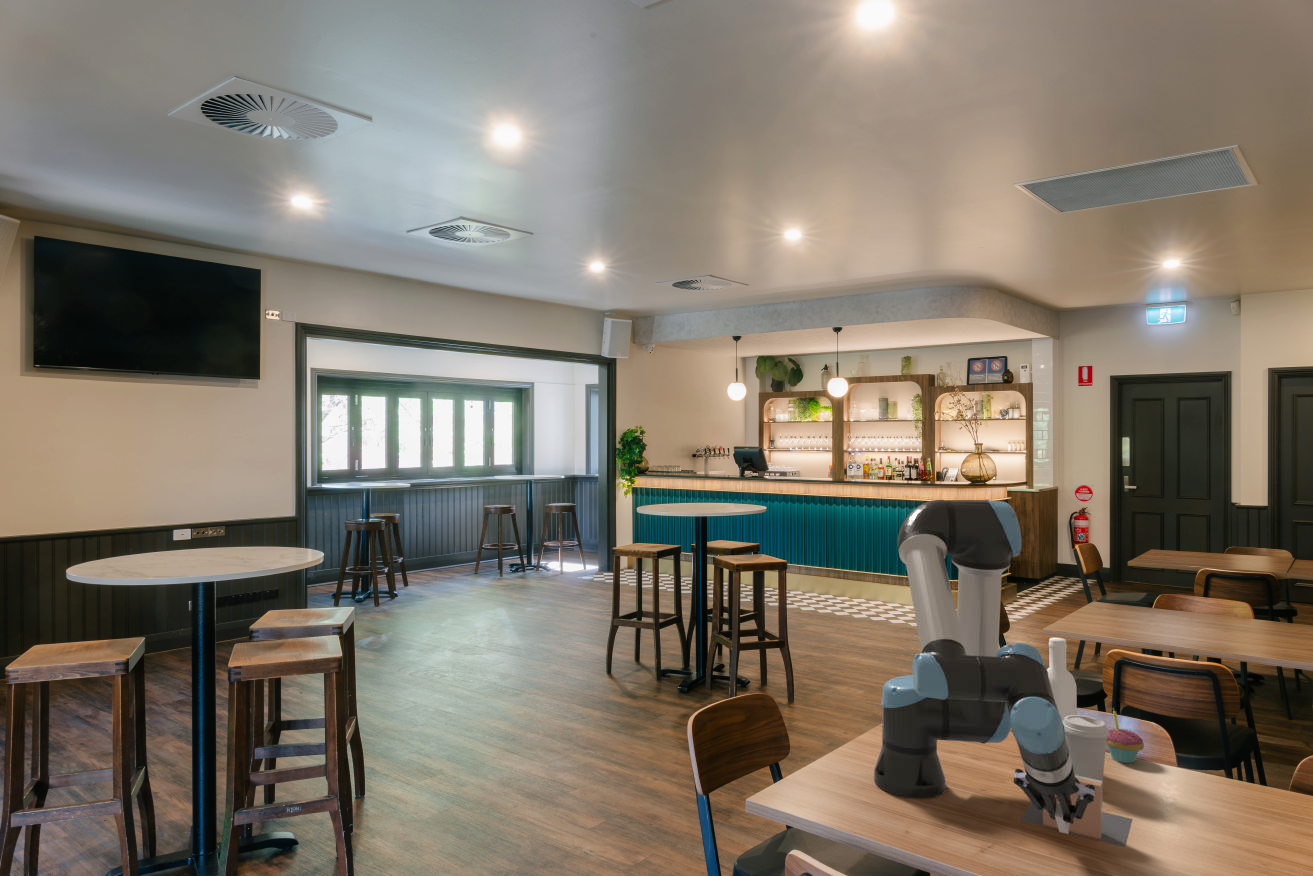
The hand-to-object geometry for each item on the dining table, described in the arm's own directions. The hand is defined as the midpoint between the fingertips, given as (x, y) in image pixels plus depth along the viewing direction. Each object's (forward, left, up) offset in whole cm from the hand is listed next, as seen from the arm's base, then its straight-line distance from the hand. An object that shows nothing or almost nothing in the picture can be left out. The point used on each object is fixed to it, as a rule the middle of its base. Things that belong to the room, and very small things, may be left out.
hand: (1064, 825), depth 146 cm
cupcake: (+4, +58, -5) cm, 58 cm away
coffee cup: (-1, +33, -5) cm, 33 cm away
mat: (0, +14, -5) cm, 15 cm away
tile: (0, +9, -4) cm, 10 cm away
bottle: (-8, +44, -5) cm, 45 cm away
